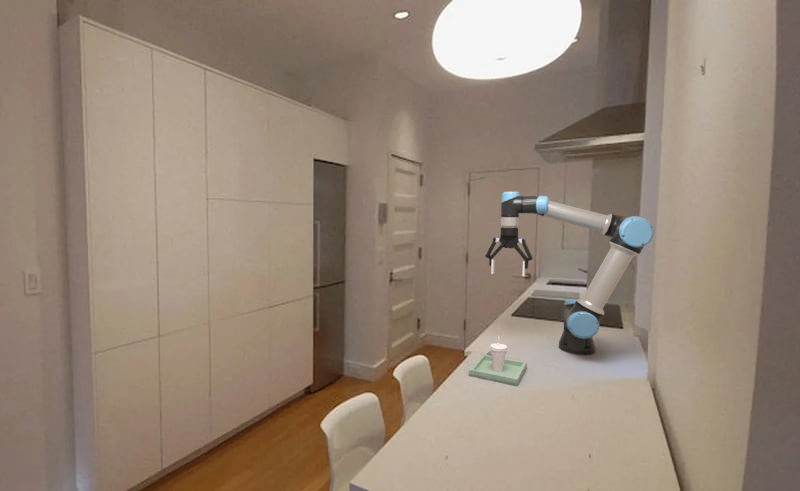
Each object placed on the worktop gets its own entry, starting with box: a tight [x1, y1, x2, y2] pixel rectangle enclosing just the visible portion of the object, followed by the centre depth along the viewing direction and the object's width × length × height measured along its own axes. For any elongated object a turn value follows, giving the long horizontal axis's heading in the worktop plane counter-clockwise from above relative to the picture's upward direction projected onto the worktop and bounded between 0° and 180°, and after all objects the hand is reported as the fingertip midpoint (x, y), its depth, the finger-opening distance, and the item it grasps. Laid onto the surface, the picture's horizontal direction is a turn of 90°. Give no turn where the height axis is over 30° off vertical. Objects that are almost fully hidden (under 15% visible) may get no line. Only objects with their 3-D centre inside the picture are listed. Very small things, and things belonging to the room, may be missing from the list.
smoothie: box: [489, 334, 508, 372], centre depth 150 cm, size 6×6×14 cm
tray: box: [468, 354, 528, 387], centre depth 151 cm, size 18×18×2 cm
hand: (508, 274), depth 171 cm, fingers open, 13 cm apart
